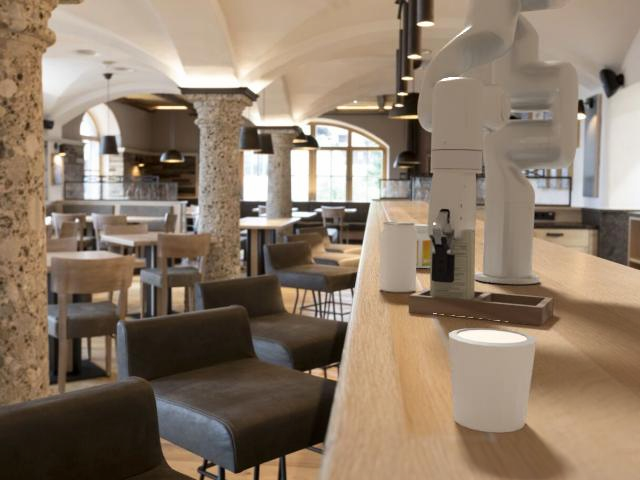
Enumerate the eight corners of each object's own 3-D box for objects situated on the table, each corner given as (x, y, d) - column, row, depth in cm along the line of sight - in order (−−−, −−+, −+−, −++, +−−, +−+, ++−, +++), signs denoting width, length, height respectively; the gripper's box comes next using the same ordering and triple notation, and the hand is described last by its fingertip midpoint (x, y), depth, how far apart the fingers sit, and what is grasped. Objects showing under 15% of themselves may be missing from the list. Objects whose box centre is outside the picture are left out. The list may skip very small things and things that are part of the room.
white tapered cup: (436, 407, 60) (439, 326, 60) (514, 406, 61) (517, 326, 60) (458, 436, 54) (462, 345, 53) (546, 434, 54) (550, 344, 54)
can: (414, 294, 122) (416, 224, 121) (376, 292, 123) (378, 223, 122) (416, 288, 128) (418, 222, 127) (381, 287, 129) (382, 221, 128)
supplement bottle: (430, 266, 163) (431, 224, 162) (431, 269, 157) (433, 225, 156) (406, 265, 163) (407, 223, 162) (407, 268, 158) (408, 225, 157)
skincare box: (474, 309, 108) (477, 229, 107) (471, 314, 104) (474, 231, 103) (432, 306, 110) (435, 227, 109) (427, 311, 106) (430, 229, 105)
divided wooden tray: (429, 302, 113) (430, 286, 113) (553, 314, 105) (553, 297, 105) (408, 312, 105) (409, 295, 104) (541, 325, 96) (542, 307, 96)
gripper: (448, 165, 114) (445, 270, 116) (412, 161, 99) (409, 282, 100) (495, 165, 111) (491, 273, 112) (465, 161, 95) (460, 287, 97)
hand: (452, 277), depth 106 cm, fingers open, 9 cm apart
